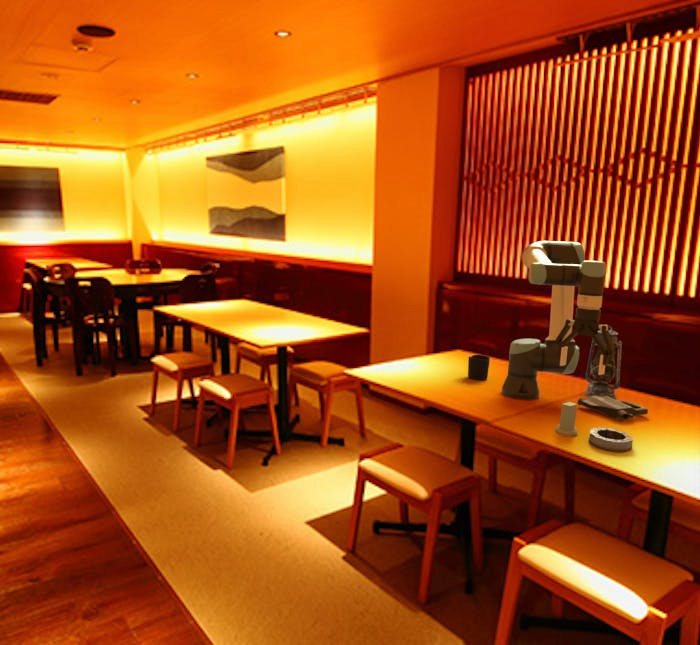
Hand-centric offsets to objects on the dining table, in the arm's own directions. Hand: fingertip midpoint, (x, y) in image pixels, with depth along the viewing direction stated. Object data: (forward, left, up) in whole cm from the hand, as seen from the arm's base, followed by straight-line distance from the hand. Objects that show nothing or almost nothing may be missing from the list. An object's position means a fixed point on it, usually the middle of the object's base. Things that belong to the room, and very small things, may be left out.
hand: (581, 369), depth 189 cm
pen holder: (-63, +22, -22) cm, 71 cm away
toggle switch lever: (-1, -3, -22) cm, 22 cm away
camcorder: (-3, +32, -23) cm, 39 cm away
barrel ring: (+13, 0, -22) cm, 26 cm away
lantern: (-19, +49, -22) cm, 57 cm away
